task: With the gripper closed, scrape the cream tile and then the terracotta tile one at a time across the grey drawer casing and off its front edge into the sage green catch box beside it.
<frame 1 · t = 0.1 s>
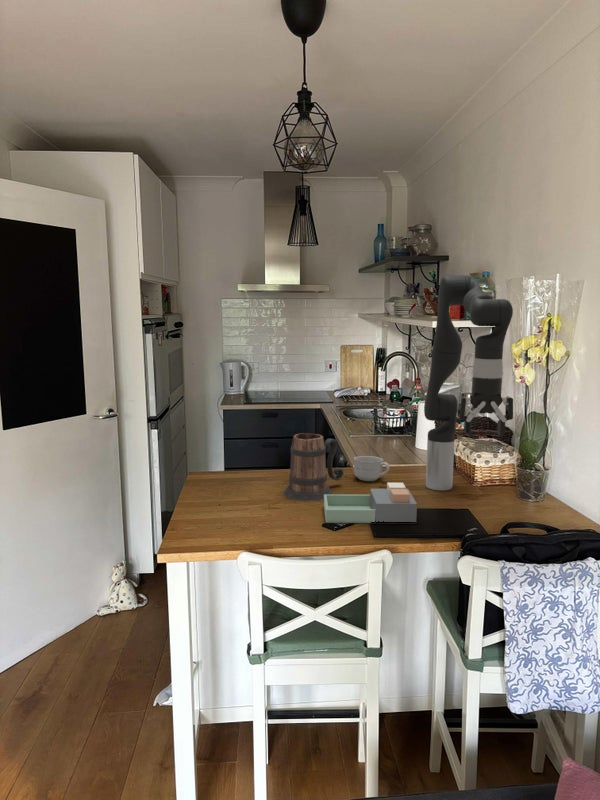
hand: (483, 435, 155), 29 cm above the breakfast bar, tool pointing down, fingers open, 8 cm apart
catch box: (348, 514, 177), on the breakfast bar
cream tile: (396, 492, 179), point 6 cm above the breakfast bar, touching grey drawer casing
terracotta tile: (399, 499, 172), point 6 cm above the breakfast bar, touching grey drawer casing
tankard: (315, 491, 199), on the breakfast bar
grey drawer casing: (392, 514, 177), on the breakfast bar
teacup: (371, 480, 212), on the breakfast bar
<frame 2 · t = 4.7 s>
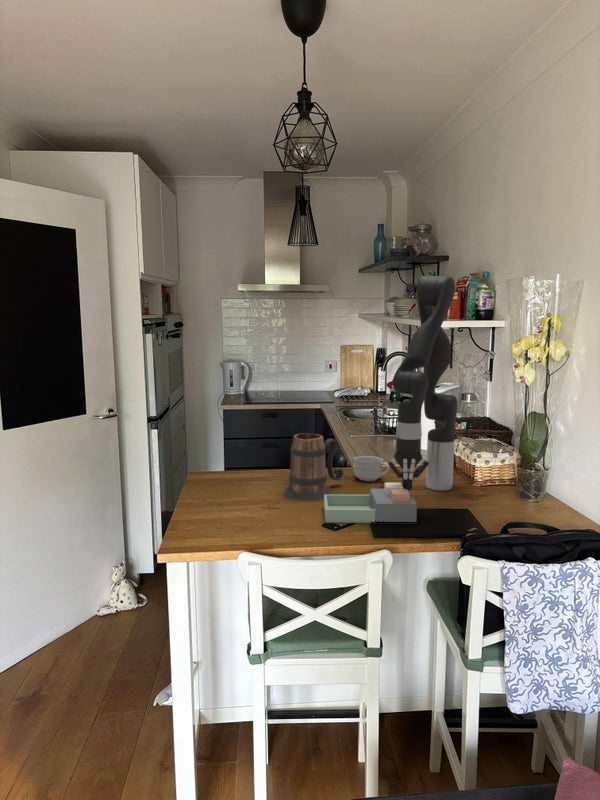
hand: (406, 490, 178), 7 cm above the breakfast bar, tool pointing down, fingers closed
cream tile: (393, 492, 179), point 6 cm above the breakfast bar, touching grey drawer casing, gripper
everything else where it was.
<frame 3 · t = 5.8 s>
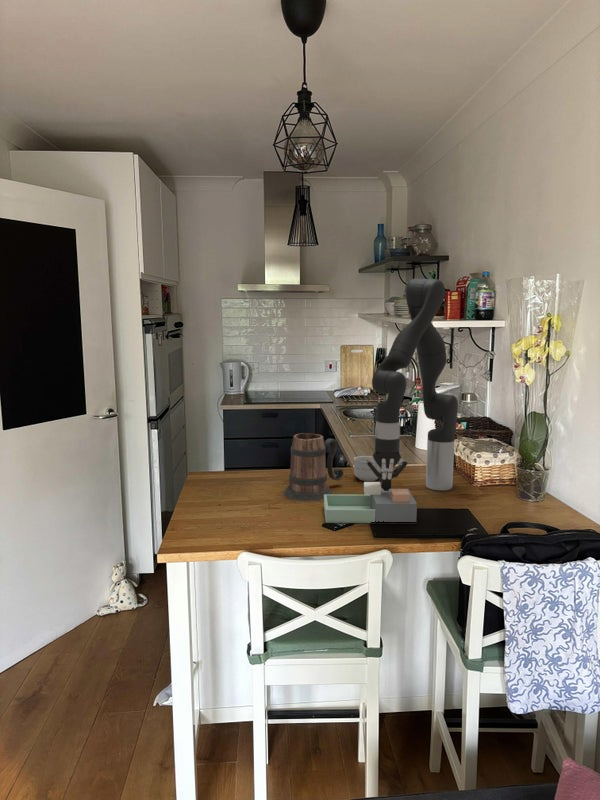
hand: (385, 490, 178), 7 cm above the breakfast bar, tool pointing down, fingers closed
cream tile: (372, 492, 179), point 6 cm above the breakfast bar, touching gripper
everything else where it was.
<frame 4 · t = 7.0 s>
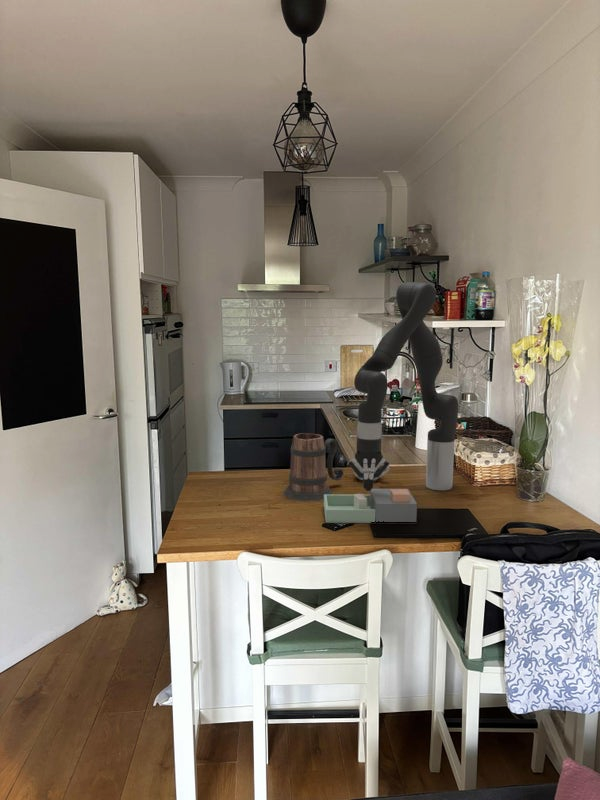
hand: (367, 490, 178), 7 cm above the breakfast bar, tool pointing down, fingers closed
cream tile: (364, 503, 177), point 3 cm above the breakfast bar, tilted 90°, touching catch box
everything else where it was.
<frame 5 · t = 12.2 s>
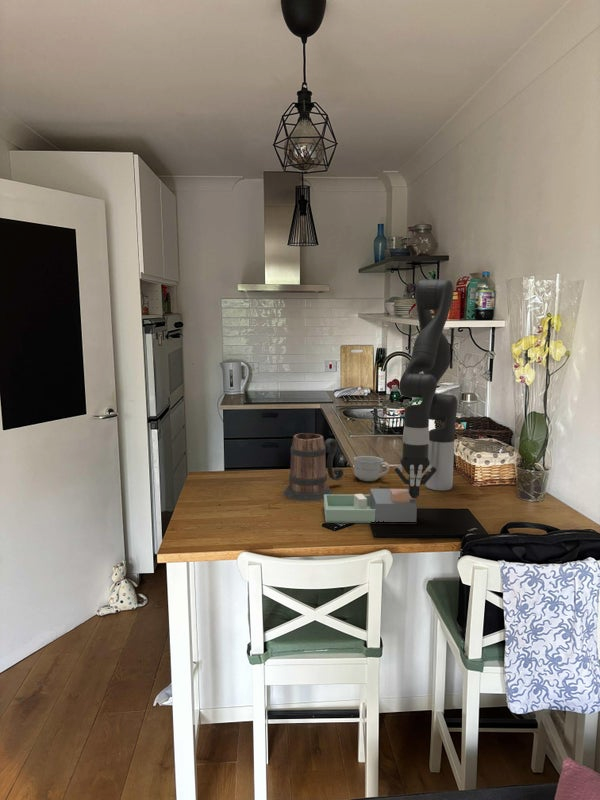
hand: (413, 497, 172), 7 cm above the breakfast bar, tool pointing down, fingers closed
terracotta tile: (399, 499, 172), point 6 cm above the breakfast bar, touching gripper
everything else where it was.
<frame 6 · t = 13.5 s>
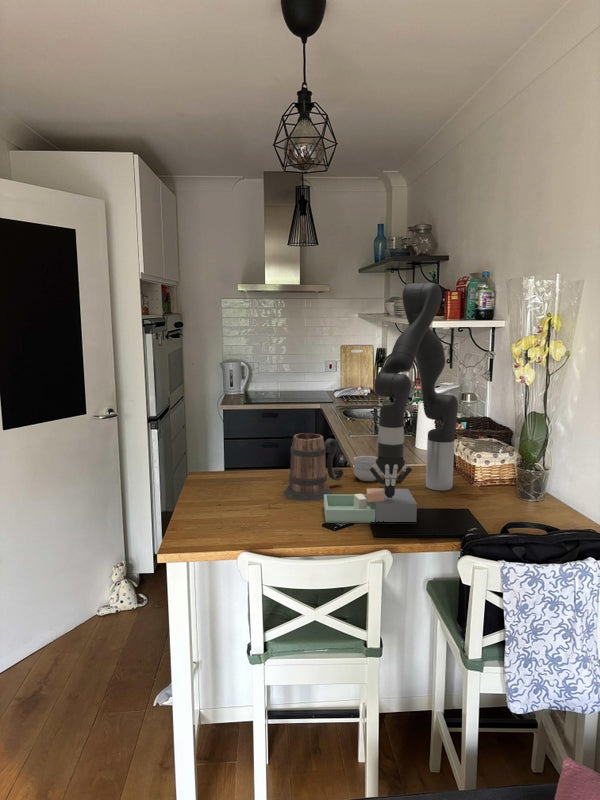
hand: (389, 496, 172), 7 cm above the breakfast bar, tool pointing down, fingers closed
terracotta tile: (375, 499, 173), point 6 cm above the breakfast bar, touching gripper
everything else where it was.
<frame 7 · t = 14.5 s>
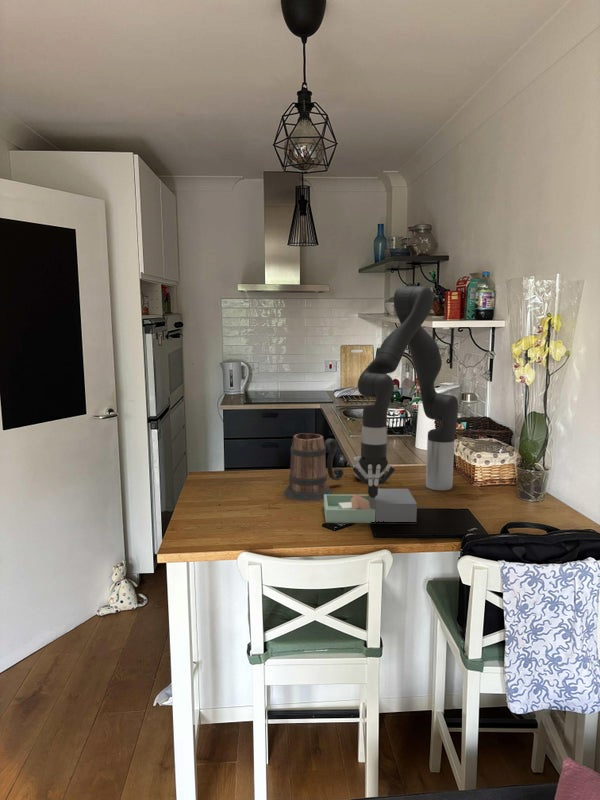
hand: (372, 496, 172), 7 cm above the breakfast bar, tool pointing down, fingers closed
cream tile: (348, 505, 176), point 3 cm above the breakfast bar, tilted 180°, touching catch box, terracotta tile
terracotta tile: (358, 508, 173), point 3 cm above the breakfast bar, tilted 44°, touching catch box, cream tile
everything else where it was.
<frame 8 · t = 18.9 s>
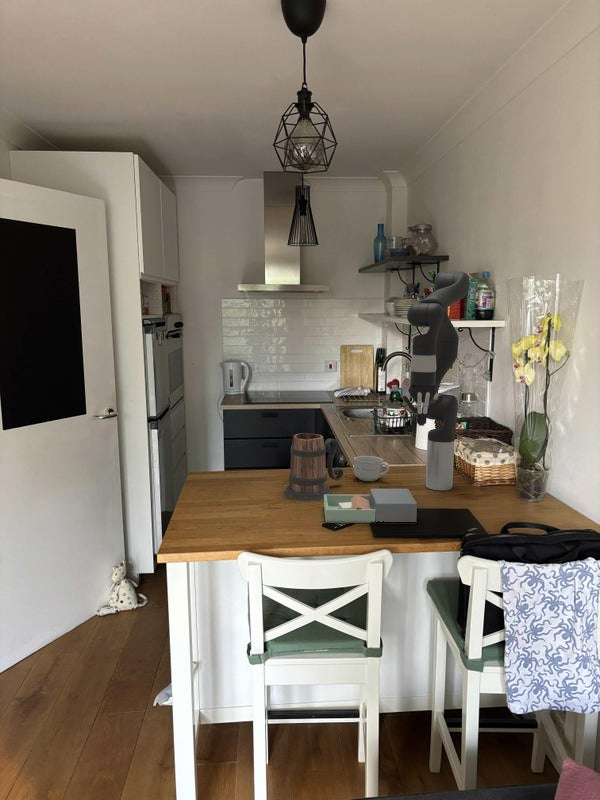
hand: (421, 425, 178), 27 cm above the breakfast bar, tool pointing down, fingers closed
nothing on the breakfast bar moved.
at the end: cream tile inside the target area on the catch box (0.3 cm from its centre), point 3.1 cm above the catch box's base; terracotta tile inside the target area on the catch box (3.8 cm from its centre), point 3.0 cm above the catch box's base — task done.
